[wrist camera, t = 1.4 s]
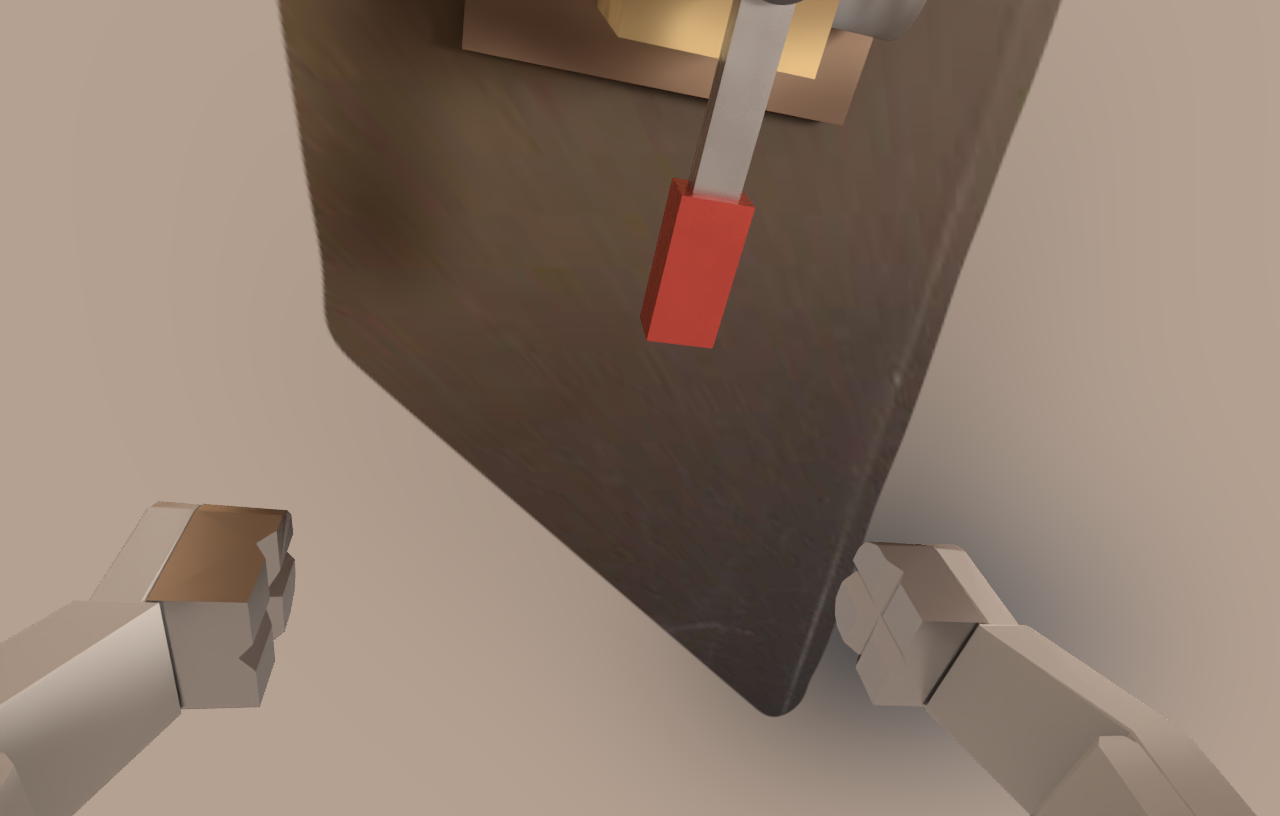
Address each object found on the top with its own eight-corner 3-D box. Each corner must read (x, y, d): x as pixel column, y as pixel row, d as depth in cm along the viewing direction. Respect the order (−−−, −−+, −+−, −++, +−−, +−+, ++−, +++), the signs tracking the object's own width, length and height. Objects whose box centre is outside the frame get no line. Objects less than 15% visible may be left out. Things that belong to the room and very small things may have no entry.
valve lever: (738, -132, 22) (755, -134, 21) (833, -106, 23) (856, -106, 21) (635, 316, 31) (641, 340, 29) (707, 325, 32) (717, 348, 30)
